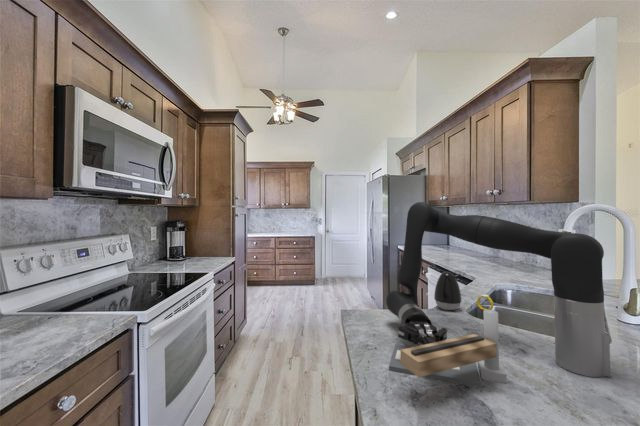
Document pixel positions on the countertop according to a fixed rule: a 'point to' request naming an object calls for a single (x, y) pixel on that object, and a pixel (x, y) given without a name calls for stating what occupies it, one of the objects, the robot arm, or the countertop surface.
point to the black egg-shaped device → (448, 291)
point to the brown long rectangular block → (447, 354)
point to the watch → (488, 299)
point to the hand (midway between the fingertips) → (433, 348)
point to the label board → (465, 373)
